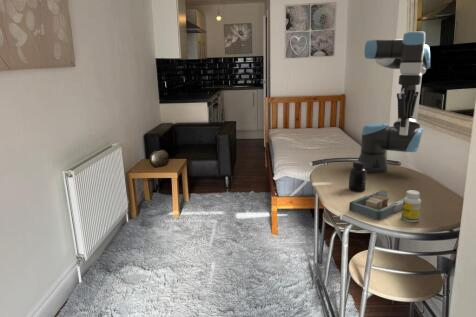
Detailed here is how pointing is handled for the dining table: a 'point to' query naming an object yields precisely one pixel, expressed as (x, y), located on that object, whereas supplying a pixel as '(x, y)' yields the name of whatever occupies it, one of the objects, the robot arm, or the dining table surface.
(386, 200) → the brown cube
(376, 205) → the beige cube
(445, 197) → the dining table surface
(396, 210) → the slot rails
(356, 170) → the supplement bottle
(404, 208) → the supplement bottle
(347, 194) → the dining table surface
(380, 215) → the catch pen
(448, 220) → the dining table surface
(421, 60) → the robot arm
